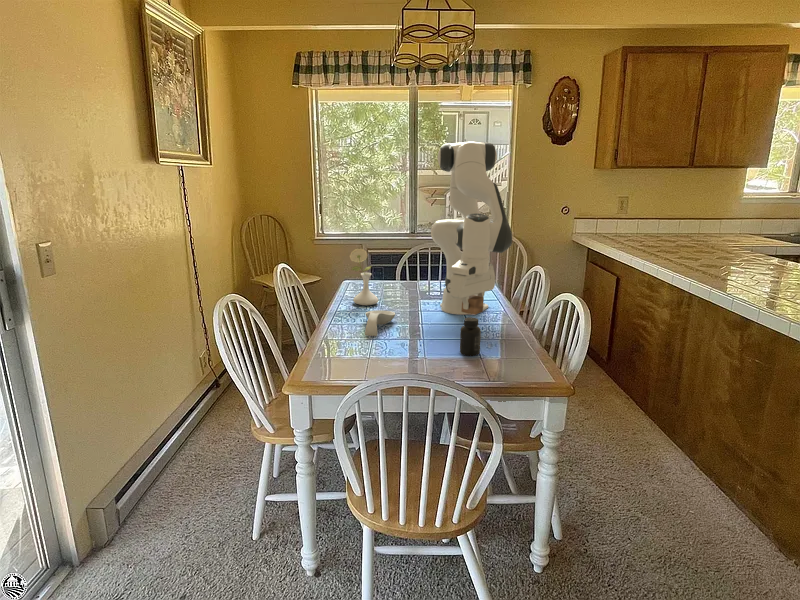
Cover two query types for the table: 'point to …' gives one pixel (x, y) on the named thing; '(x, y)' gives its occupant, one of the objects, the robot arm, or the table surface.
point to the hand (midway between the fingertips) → (472, 307)
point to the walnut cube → (474, 305)
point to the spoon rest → (377, 321)
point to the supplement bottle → (470, 337)
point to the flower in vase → (365, 295)
